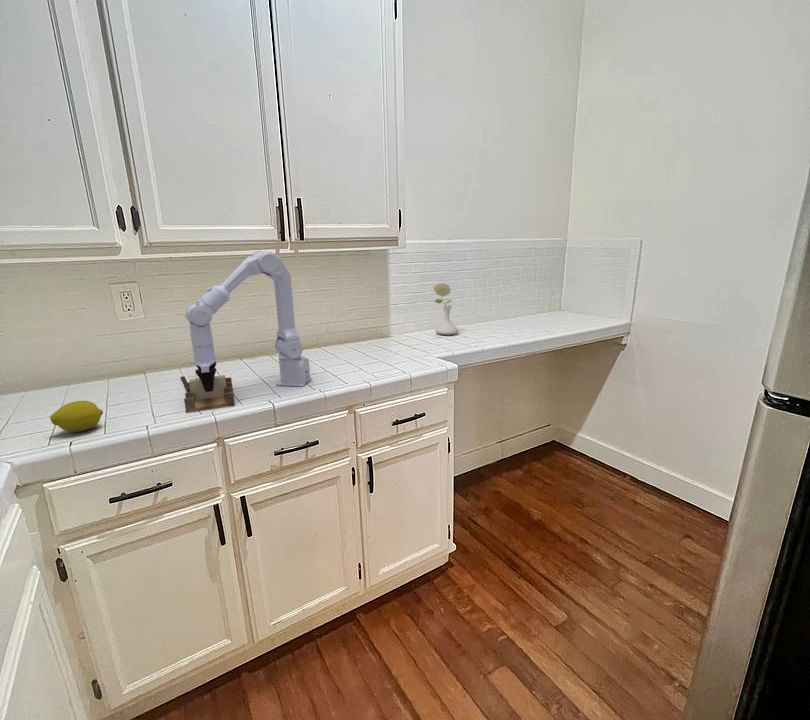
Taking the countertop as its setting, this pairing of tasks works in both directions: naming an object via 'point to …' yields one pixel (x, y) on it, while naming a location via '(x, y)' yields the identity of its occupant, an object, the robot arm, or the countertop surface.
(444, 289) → the flower in vase
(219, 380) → the clay slab
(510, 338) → the countertop surface
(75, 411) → the lemon
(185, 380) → the chocolate bar
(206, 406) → the pegged wooden tray
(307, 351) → the countertop surface
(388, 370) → the countertop surface
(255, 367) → the countertop surface
